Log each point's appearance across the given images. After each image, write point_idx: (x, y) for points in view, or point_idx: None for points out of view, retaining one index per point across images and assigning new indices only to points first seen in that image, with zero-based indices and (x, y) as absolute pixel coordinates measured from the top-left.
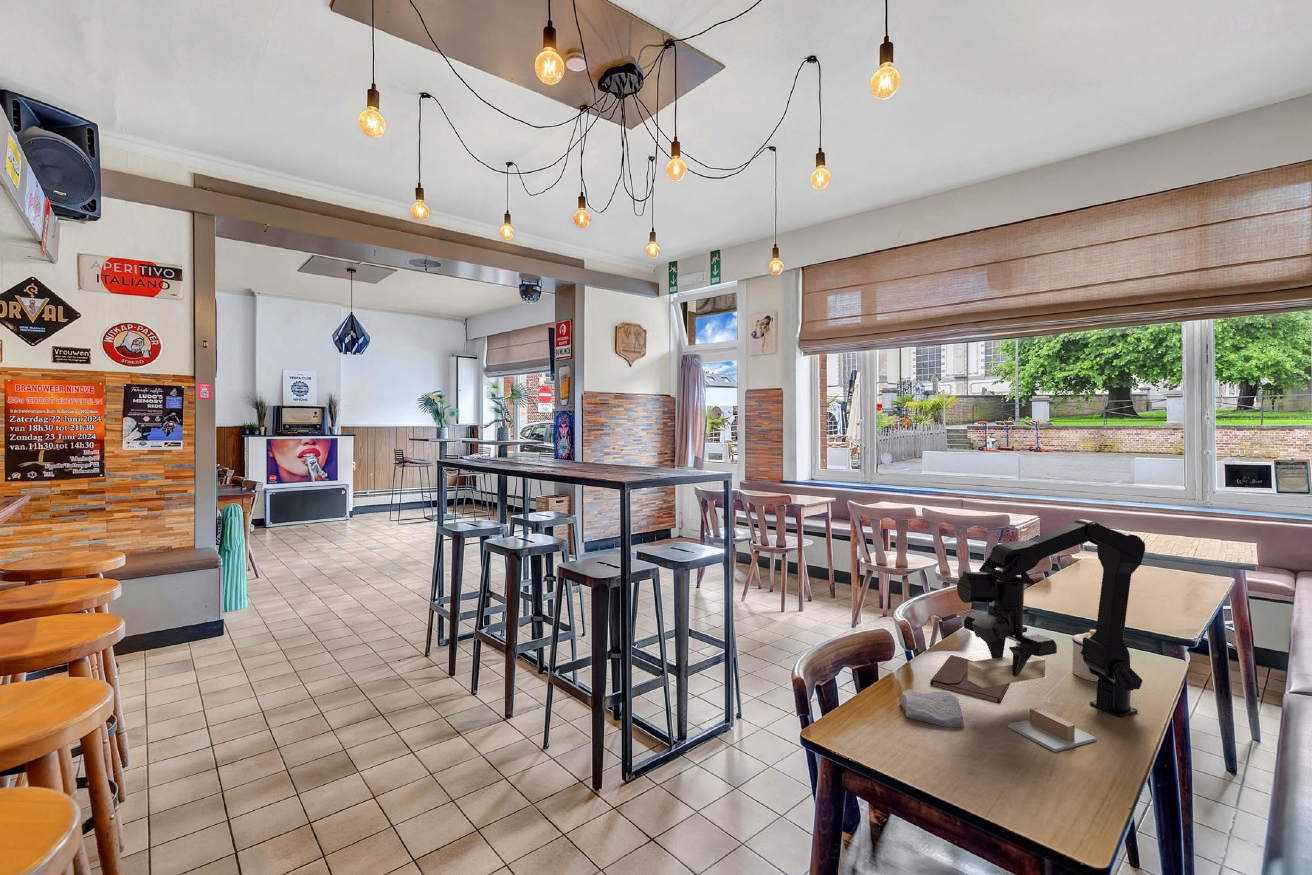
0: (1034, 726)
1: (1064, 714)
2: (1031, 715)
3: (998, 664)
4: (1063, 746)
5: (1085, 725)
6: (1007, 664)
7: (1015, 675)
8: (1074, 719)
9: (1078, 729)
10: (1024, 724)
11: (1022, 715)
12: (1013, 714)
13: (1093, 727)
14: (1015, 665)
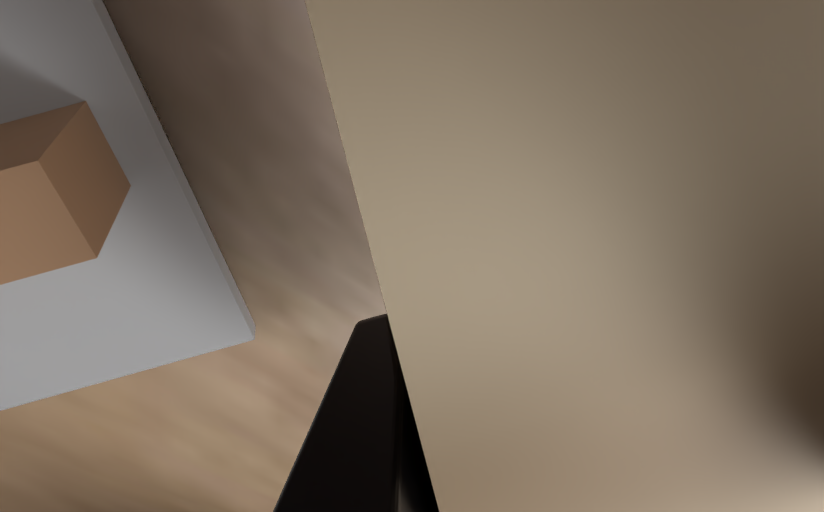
0: (1, 94)
1: (303, 439)
2: (44, 135)
3: (509, 96)
4: None
5: (145, 471)
6: (460, 367)
7: (352, 337)
8: (230, 456)
9: (13, 402)
10: (33, 16)
11: (297, 154)
12: (320, 84)
13: (120, 495)
14: (314, 499)
